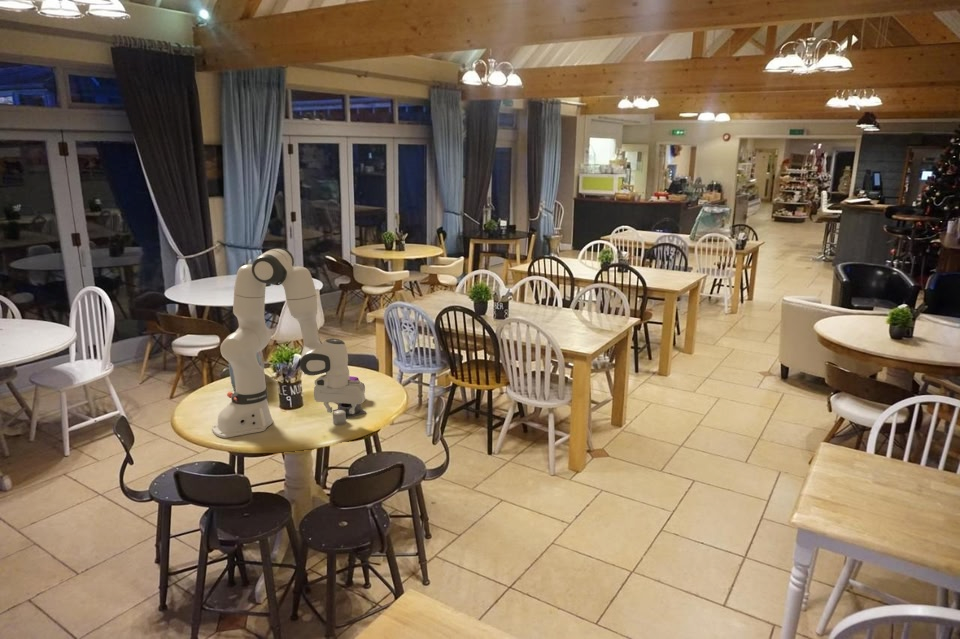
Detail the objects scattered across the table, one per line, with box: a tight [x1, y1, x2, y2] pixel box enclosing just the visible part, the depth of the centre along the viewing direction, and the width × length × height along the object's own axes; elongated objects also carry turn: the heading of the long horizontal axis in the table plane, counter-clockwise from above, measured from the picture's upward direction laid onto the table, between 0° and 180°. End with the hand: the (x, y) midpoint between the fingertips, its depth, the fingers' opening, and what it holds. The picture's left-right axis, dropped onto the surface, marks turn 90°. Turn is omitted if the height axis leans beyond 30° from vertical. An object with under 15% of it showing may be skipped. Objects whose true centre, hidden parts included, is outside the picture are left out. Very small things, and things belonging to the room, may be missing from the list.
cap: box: [332, 410, 347, 426], centre depth 259 cm, size 5×5×4 cm
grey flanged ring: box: [332, 403, 367, 420], centre depth 269 cm, size 10×10×4 cm
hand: (340, 412), depth 258 cm, fingers open, 8 cm apart
